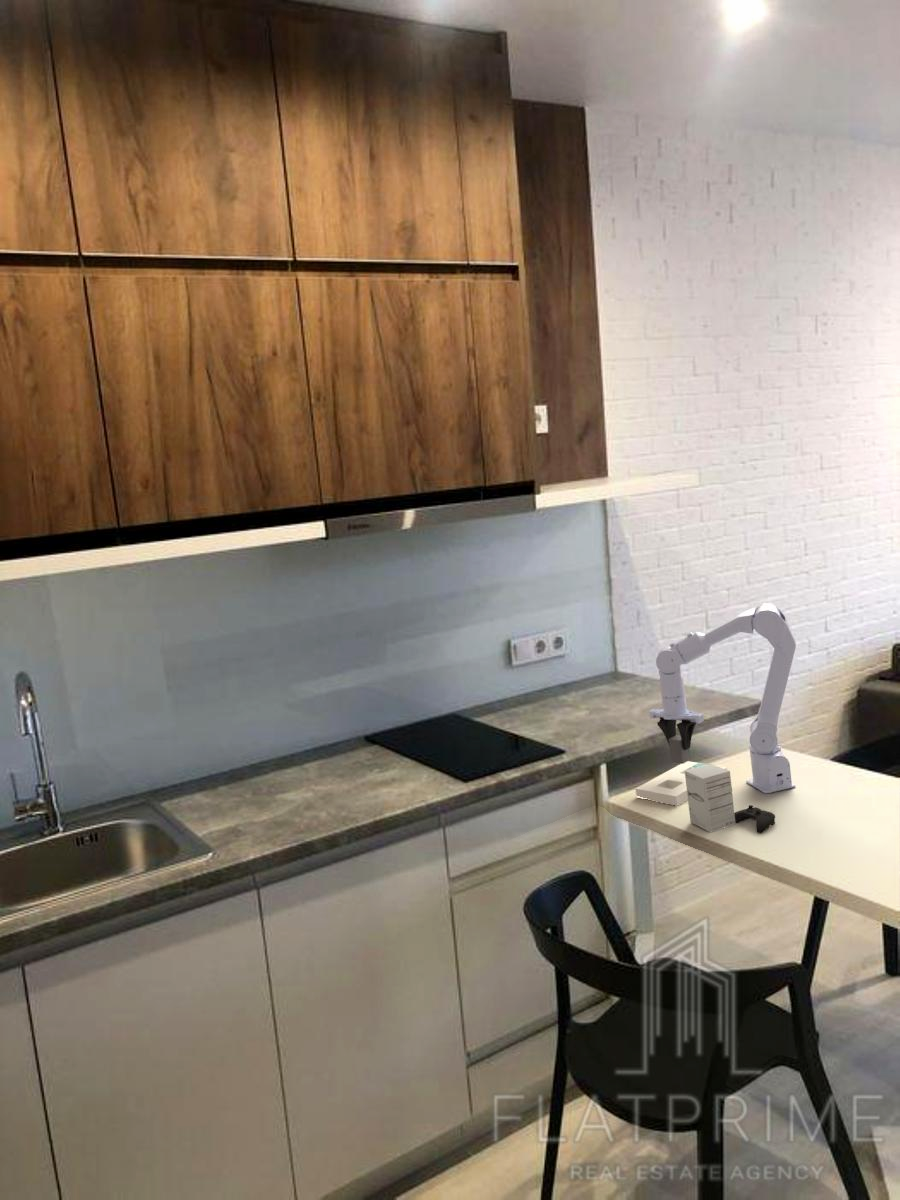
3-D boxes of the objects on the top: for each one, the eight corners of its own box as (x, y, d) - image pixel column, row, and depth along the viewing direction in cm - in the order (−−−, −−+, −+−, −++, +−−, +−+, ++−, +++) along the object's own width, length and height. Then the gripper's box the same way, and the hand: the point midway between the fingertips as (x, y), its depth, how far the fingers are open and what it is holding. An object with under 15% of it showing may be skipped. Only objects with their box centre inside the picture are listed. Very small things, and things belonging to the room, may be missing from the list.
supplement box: (689, 823, 210) (683, 770, 209) (716, 814, 213) (710, 762, 211) (709, 833, 204) (702, 778, 202) (737, 824, 206) (730, 770, 204)
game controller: (726, 820, 207) (738, 796, 209) (741, 831, 209) (753, 808, 211) (758, 831, 199) (770, 807, 200) (773, 843, 201) (785, 819, 202)
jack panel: (677, 806, 221) (676, 795, 221) (636, 798, 230) (635, 787, 230) (727, 776, 235) (726, 766, 235) (687, 770, 244) (686, 760, 244)
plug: (683, 763, 230) (680, 740, 229) (671, 762, 232) (668, 739, 231) (692, 758, 232) (689, 735, 232) (680, 757, 235) (677, 734, 234)
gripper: (639, 697, 233) (646, 749, 235) (689, 701, 222) (696, 756, 224) (656, 690, 237) (662, 740, 239) (705, 694, 227) (712, 747, 228)
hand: (680, 747), depth 232 cm, fingers closed on plug, 3 cm apart
